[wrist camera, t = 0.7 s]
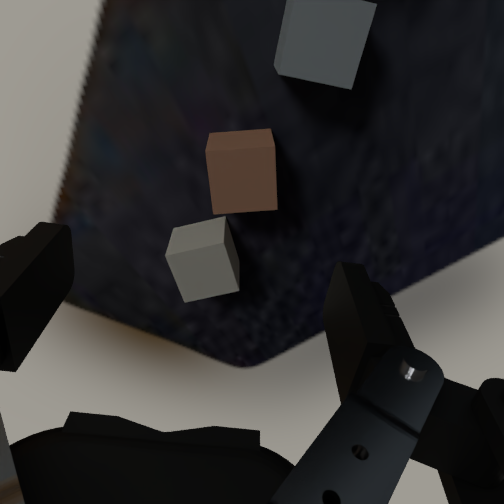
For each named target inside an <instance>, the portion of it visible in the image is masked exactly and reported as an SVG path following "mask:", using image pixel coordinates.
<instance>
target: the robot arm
mask: <svg viewBox="0 0 504 504" xmlns="http://www.w3.org/2000/svg"><path fill="white" fill-rule="evenodd" d="M73 280H74V259H73V248H72V237H71V230H70V228H69V226H68V225H62V224H54V223H47V222H39V223H38V224H37V225H36V226H35V227H34V228H33V229H32V230H31V231H30V232H29V233H28V234H27V235H26V236H17V237H15V238H13V239H11V240H9V241H7V242H5V243H3V244H1V245H0V370H1V371H10V372H16V371H17V370H18V368H19V367H20V365H21V363H22V362H23V360H24V359H25V357H26V356H27V354H28V353H29V351H30V350H31V348H32V347H33V345H34V344H35V342H36V341H37V339H38V338H39V336H40V335H41V333H42V332H43V330H44V329H45V327H46V326H47V324H48V323H49V321H50V320H51V318H52V317H53V315H54V314H55V312H56V311H57V309H58V308H59V306H60V304H61V303H62V301H63V300H64V298H65V297H66V295H67V294H68V292H69V291H70V289H71V287H72V284H73ZM323 322H324V327H325V332H326V336H327V341H328V346H329V350H330V355H331V360H332V364H333V369H334V373H335V378H336V383H337V387H338V392H339V397H340V401H341V405H340V407H339V408H338V410H337V411H336V412H335V414H334V415H333V416H332V418H331V419H330V420H329V422H328V423H327V424H326V426H325V427H324V428H323V430H322V431H321V432H320V434H319V435H318V436H317V438H316V439H315V440H314V442H313V443H312V444H311V446H310V447H309V448H308V450H307V451H306V452H305V454H304V455H303V456H302V458H301V459H300V460H299V462H298V463H297V464H296V466H294V465H293V464H291V463H290V462H289V461H288V460H287V459H285V458H283V457H282V456H280V455H279V454H277V453H275V452H273V451H271V450H269V449H267V448H265V447H262V446H260V431H259V430H249V429H239V428H228V427H219V426H211V427H203V428H196V429H188V430H181V431H173V432H161V431H158V430H155V429H152V428H150V427H147V426H144V425H141V424H138V423H135V422H132V421H130V420H127V419H124V418H121V417H119V416H110V415H100V414H89V413H79V412H70V413H69V416H68V418H67V420H66V422H65V424H64V426H63V427H59V428H54V429H50V430H46V431H42V432H39V433H36V434H33V435H31V436H28V437H26V438H24V439H21V440H19V441H17V442H15V443H13V444H11V445H10V446H9V443H8V440H7V436H6V432H5V428H4V425H3V421H2V417H1V413H0V504H388V503H389V500H390V498H391V496H392V494H393V492H394V490H395V488H396V486H397V483H398V481H399V479H400V477H401V475H402V473H403V471H404V469H405V467H406V464H407V462H408V460H409V458H410V459H412V460H415V461H418V462H420V463H423V464H425V465H427V466H430V467H432V468H435V469H437V470H438V473H439V476H440V479H441V482H442V485H443V488H444V491H445V494H446V497H447V500H448V503H449V504H504V379H500V378H490V379H487V380H485V381H484V382H483V383H482V385H481V386H480V388H479V389H478V390H477V389H473V388H471V387H468V386H465V385H463V384H459V383H457V382H454V381H451V380H449V379H446V378H444V374H443V371H442V369H441V368H440V366H439V365H438V364H437V363H436V361H435V360H433V359H432V358H431V357H430V356H428V355H427V354H425V353H423V352H422V351H420V350H417V349H415V347H414V345H413V343H412V341H411V339H410V336H409V334H408V332H407V330H406V328H405V326H404V324H403V321H402V319H401V318H400V317H399V313H398V311H397V309H396V308H395V304H394V302H393V300H392V298H391V296H390V294H389V293H388V292H387V291H386V290H385V289H384V288H383V287H382V286H381V285H380V284H379V283H378V282H371V281H370V279H369V277H368V274H367V272H366V269H365V267H364V265H362V264H355V263H348V262H340V261H339V262H337V264H336V266H335V268H334V272H333V275H332V278H331V282H330V285H329V288H328V292H327V295H326V299H325V302H324V307H323Z"/></svg>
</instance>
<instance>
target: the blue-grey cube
mask: <svg viewBox="0 0 504 504" xmlns="http://www.w3.org/2000/svg"><path fill="white" fill-rule="evenodd" d="M376 6H377V4H375V3H370V2H366V1H362V0H287V3H286V7H285V12H284V17H283V22H282V27H281V32H280V37H279V42H278V47H277V51H276V56H275V61H274V67H275V69H276V70H277V72H278V74H280V75H285V76H289V77H294V78H299V79H304V80H308V81H313V82H318V83H322V84H327V85H332V86H337V87H341V88H346V89H352V86H353V82H354V79H355V76H356V72H357V69H358V66H359V62H360V59H361V56H362V52H363V49H364V46H365V42H366V39H367V36H368V32H369V29H370V26H371V23H372V19H373V16H374V13H375V9H376Z"/></svg>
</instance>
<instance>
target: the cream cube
mask: <svg viewBox="0 0 504 504" xmlns="http://www.w3.org/2000/svg"><path fill="white" fill-rule="evenodd" d="M165 257H166V259H167V261H168V264H169V266H170V269H171V271H172V273H173V276H174V278H175V281H176V283H177V285H178V288H179V290H180V293H181V295H182V297H183V300H184V302H189V301H194V300H199V299H203V298H208V297H213V296H217V295H222V294H227V293H232V292H236V291H239V258H238V255H237V252H236V248H235V245H234V242H233V239H232V236H231V232H230V229H229V226H228V223H227V219H226V216H224V217H220V218H216V219H212V220H207V221H203V222H199V223H194V224H190V225H186V226H182V227H177V228H174V229H173V232H172V235H171V238H170V242H169V245H168V248H167V252H166V255H165Z"/></svg>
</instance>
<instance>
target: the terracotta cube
mask: <svg viewBox="0 0 504 504" xmlns="http://www.w3.org/2000/svg"><path fill="white" fill-rule="evenodd" d="M205 152H206V160H207V167H208V175H209V183H210V191H211V199H212V207H213V214H225V213H239V212H253V211H267V210H277V185H276V158H275V144H274V140H273V136H272V132H271V129H260V130H246V131H232V132H219V133H210V134H209V139H208V143H207V147H206V151H205Z"/></svg>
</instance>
